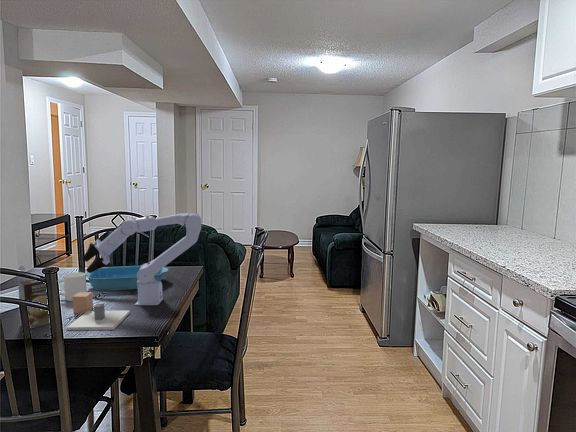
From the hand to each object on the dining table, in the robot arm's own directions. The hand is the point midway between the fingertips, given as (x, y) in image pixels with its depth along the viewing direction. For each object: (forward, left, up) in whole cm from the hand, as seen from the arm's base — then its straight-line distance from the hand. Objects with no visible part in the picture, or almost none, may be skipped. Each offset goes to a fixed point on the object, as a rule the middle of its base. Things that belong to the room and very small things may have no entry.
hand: (86, 266), depth 163 cm
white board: (-11, +16, -17) cm, 26 cm away
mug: (+12, -10, -17) cm, 23 cm away
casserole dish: (-5, -30, -17) cm, 35 cm away
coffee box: (+10, +18, -17) cm, 26 cm away
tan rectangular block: (0, +5, -17) cm, 17 cm away
